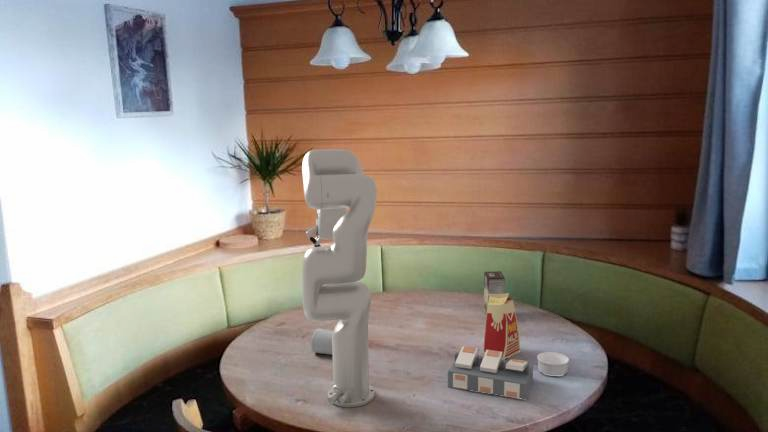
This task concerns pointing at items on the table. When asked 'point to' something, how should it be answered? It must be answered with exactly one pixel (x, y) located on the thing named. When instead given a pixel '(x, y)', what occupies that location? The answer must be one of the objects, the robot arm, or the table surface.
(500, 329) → the milk carton
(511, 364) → the rocker
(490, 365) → the block
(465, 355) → the rocker
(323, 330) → the ceramic mug
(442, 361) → the table surface
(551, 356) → the ramekin
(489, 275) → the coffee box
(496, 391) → the switch unit
